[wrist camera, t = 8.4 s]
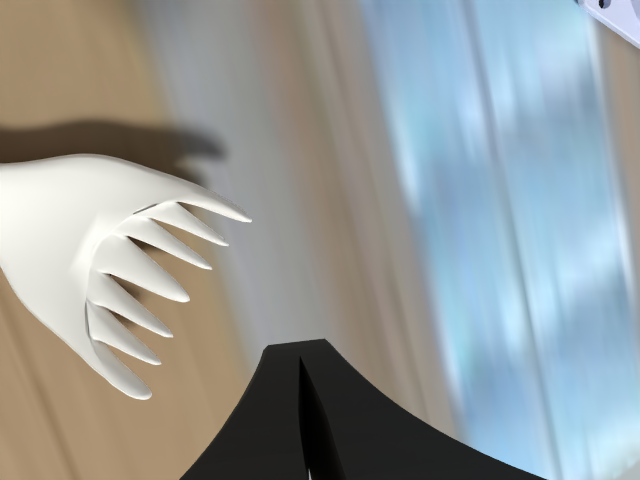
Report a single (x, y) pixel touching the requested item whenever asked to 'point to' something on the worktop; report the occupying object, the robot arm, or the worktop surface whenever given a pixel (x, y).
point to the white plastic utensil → (98, 250)
